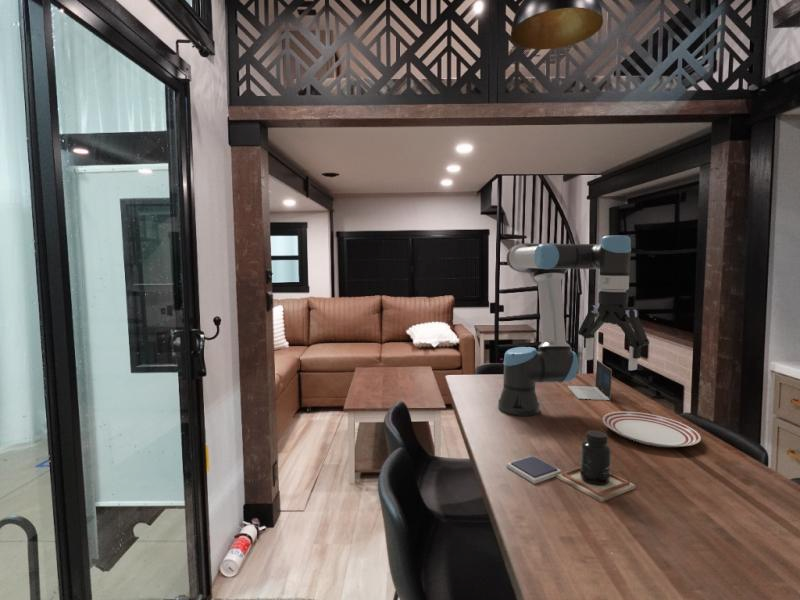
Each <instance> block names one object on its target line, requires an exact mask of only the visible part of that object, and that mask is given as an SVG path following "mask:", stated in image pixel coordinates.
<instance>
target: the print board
mask: <svg viewBox="0 0 800 600" xmlns="http://www.w3.org/2000/svg"><path fill="white" fill-rule="evenodd" d="M580 470H581V465H580V466H578V467H574V468H572V469H569V470H566V471H562V473H560V474H557V476H556V478H557V479H558V480H561V481H562V482H564V483H566V484H568V485H569V486H571V487H573V488H575V489H577V490H579V491H580V492H582V493H584V494H586V495H588V496H590V497H591V498H593V499H595V500H596V501H598V502H600V503H604V502H605V501H608V500H610V499H612V498H615V497H617V496H619V495H622V494H624V493H627V492H629V491H631V490H634V489H636V485H635V484H634V483H632V482H630V481H628V479H627V480H626V479H624V478H622V477H620V476H618V475H617V474H614V473H613V472H610V480H609V483H608V484H606V485H602V486H599V485H593V484H590V483H587V482H586V481H584V480H583V479H582V478H581V475H580Z"/></svg>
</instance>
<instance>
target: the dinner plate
mask: <svg viewBox="0 0 800 600" xmlns="http://www.w3.org/2000/svg"><path fill="white" fill-rule="evenodd" d="M602 422H603V424H604V425H605V426H606V427H607V428H608V429H609V430H611V431H613V432H614V433H616V434H617V435H620V437H623V438H625V439H626V438H627V439H628V440H630V441H632V440H633V442H635V441H636V443H638V442H639V444H643V445H646V446H650V445H651V447H658V448H680V447H691V446H695V445H697V444H698V443H700V442H701V440H702V437H701V435H700V433H698V431H696V430H695V429H693V428H692V427H690V426H688V425H686V424H684V423H682V422H680V421H677V420H674V419H671V418H668V417H665V416H661V415H656V414H651V413H644V412H639V411H638V412H637V411H611V412H609V413H606V414H605V415H603V417H602Z"/></svg>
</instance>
